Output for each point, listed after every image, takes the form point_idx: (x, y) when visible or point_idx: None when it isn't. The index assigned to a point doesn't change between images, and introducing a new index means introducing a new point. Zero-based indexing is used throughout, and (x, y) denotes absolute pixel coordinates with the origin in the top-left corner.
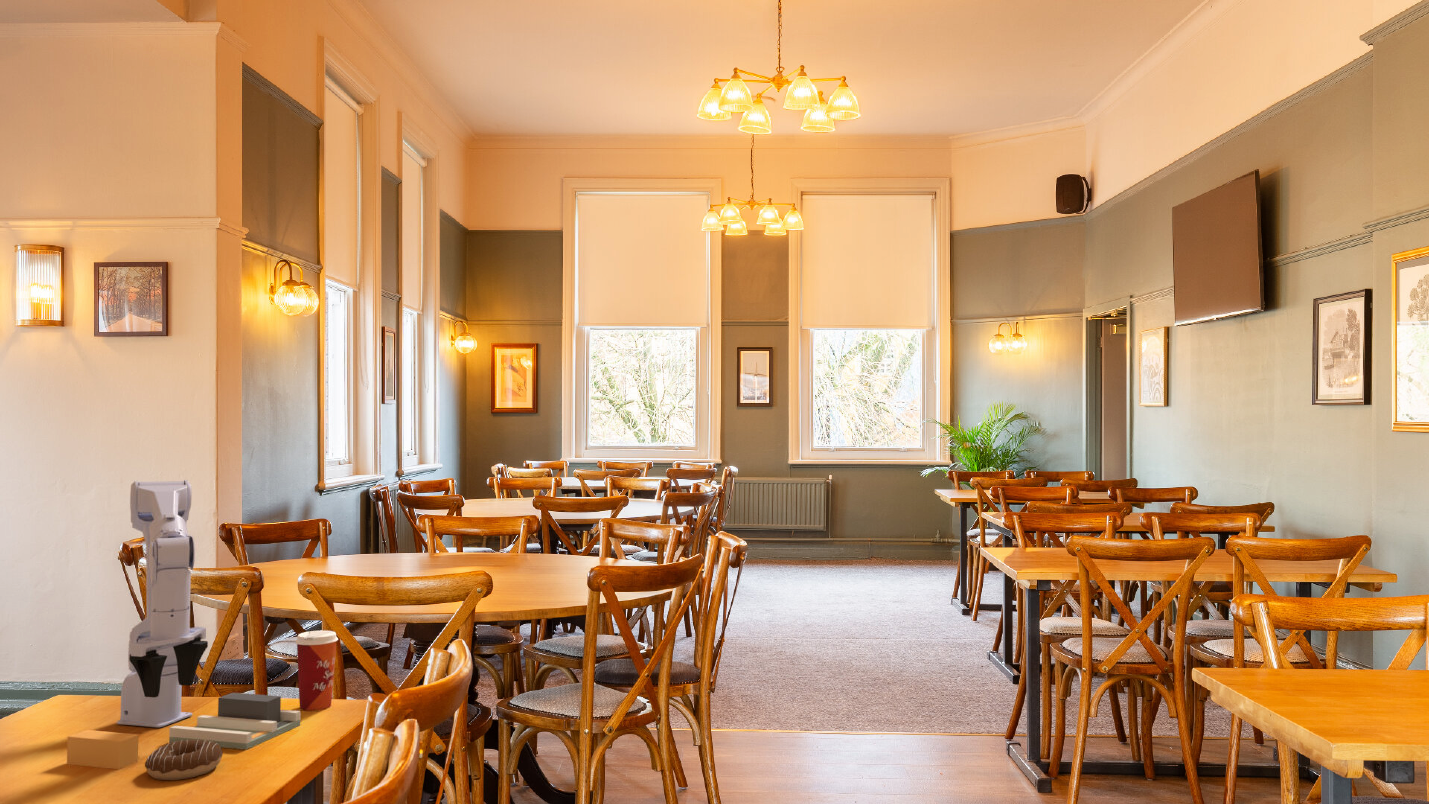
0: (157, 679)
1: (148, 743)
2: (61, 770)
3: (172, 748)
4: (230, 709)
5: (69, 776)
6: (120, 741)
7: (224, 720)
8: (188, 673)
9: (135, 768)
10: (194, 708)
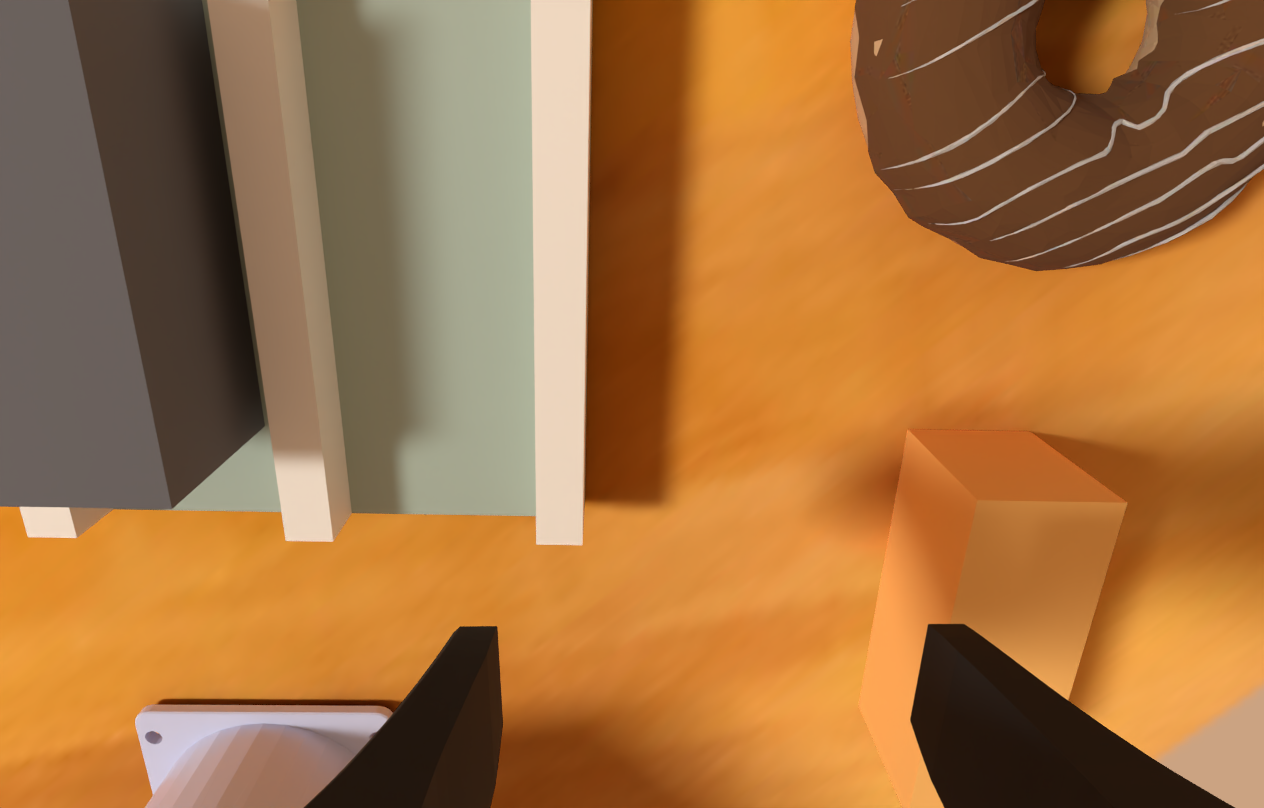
0: (1104, 737)
1: (620, 589)
2: None
3: (1112, 136)
4: (196, 365)
5: (1135, 575)
6: (1124, 502)
7: (310, 330)
8: (468, 741)
9: (1015, 360)
10: (28, 783)
